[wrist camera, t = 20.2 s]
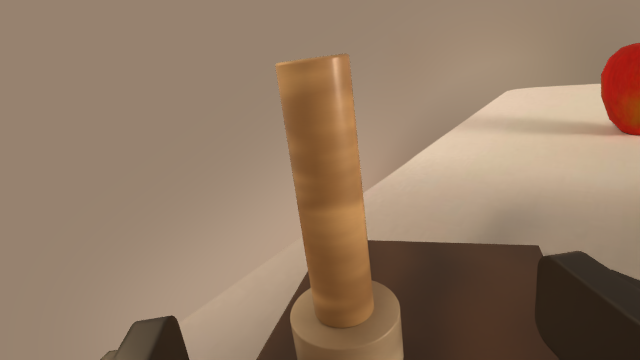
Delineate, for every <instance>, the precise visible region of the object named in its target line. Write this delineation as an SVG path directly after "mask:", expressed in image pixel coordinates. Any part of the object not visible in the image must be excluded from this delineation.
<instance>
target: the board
mask: <svg viewBox="0 0 640 360" xmlns="http://www.w3.org/2000/svg"><path fill="white" fill-rule="evenodd" d="M368 250H369V260H370V270H371V280H372V281H375V282H378V283H380V284H382V285H384V286H386V287H387V288H388V289H390V290H391V291H392V292H393V293H394V295H395V296H396V298H397V299H398V301H399V305H400V313H401V327H402V340H403V353H404V357H403V360H560V359H559V358H558V357H557V356H556V355H555V354H554V353H553V352H552V350H551V349H550V348H549V347H548V346H547V345H546V344H545V342H544V341H543V339H542V337H541V336H540V333H539V331H538V329H537V325H536V321H535V301H536V284H537V267H538V262H539V260H540V259H541V258H542V257H543V255H542V252H541V250H540V248H539V246H537V245H505V244H472V243H439V242H406V241H373V240H368ZM310 288H311V285H310V279H309V273H308V272H307V274H306V275H305V277H304V279H303V280H302V282H301V284H300V286H299V287H298V289H297V291H296V292H295V294H294V296H293V298H292V299H291V301H290V303H289V304H288V306H287V308H286V310H285V311H284V313H283V315H282V316H281V318H280V320H279V322H278V323H277V325H276V327H275V328H274V330H273V332H272V334H271V335H270V337H269V339H268V340H267V342H266V344H265V346H264V347H263V349H262V351H261V352H260V354H259V356H258V358H257V359H256V360H297V355H296V349H295V344H294V338H293V333H292V328H291V322H290V314H291V310H292V307H293V305H294V303H295V302H296V300H297V299H298V298H299V297H300V296H301V295H302V294H303V293H304V292H305V291H307V290H308V289H310Z"/></svg>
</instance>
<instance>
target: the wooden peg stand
mask: <svg viewBox="0 0 640 360" xmlns="http://www.w3.org/2000/svg"><path fill="white" fill-rule="evenodd" d="M275 67H276V73H277V79H278V85H279V92H280V97H281V104H282V110H283V117H284V123H285V129H286V135H287V142H288V148H289V154H290V160H291V167H292V173H293V179H294V185H295V191H296V198H297V204H298V210H299V216H300V223H301V228H302V235H303V242H304V248H305V254H306V260H307V267H308V273H309V279H310V285H311V288H310V289H308V290H307V291H305V292H304V293H303V294H302V295H301V296H300V297H299V298H298V299H297V300H296V302H295V303H294V305H293V307H292V310H291V314H290V322H291V328H292V333H293V338H294V344H295V349H296V355H297V360H403V357H404V353H403V340H402V327H401V313H400V305H399V301H398V299H397V298H396V296H395V295H394V293H393V292H392V291H391V290H390V289H388V288H387V287H386V286H384V285H382V284H380V283H378V282H375V281H372V280H371V270H370V260H369V250H368V240H367V230H366V220H365V210H364V200H363V190H362V181H361V170H360V160H359V150H358V141H357V130H356V120H355V110H354V100H353V90H352V80H351V70H350V60H349V55H348V54H338V55H330V56H322V57H315V58H307V59H300V60H294V61H286V62H280V63H277V64H276V66H275Z"/></svg>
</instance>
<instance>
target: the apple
mask: <svg viewBox="0 0 640 360" xmlns="http://www.w3.org/2000/svg"><path fill="white" fill-rule="evenodd" d="M601 97H602V100H603V103H604V105H605V108H606V111H607V114H608V116H609V119H610V120H611V121H612V122H613V123H614V124H615V125H616V126H617V127H618V128H619V129H620V130H621V131H622V132H625V133H628V134H633V135H640V43H636V44H632V45H628V46H625V47H622V48H621V49H620V50H618V51H617V52H616V53H615V54H614V55H612V56H611V57H610V58H609V60H608V62H607V64H606V66H605V68H604V70H603V72H602V74H601Z"/></svg>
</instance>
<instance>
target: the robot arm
mask: <svg viewBox="0 0 640 360" xmlns="http://www.w3.org/2000/svg"><path fill="white" fill-rule="evenodd" d="M535 321H536V325H537V329H538V331H539V333H540V336H541V337H542V339H543V341H544V342H545V344H546V345H547V346H548V347H549V348H550V349H551V350H552V352H553V353H554V354H555V355H556V356H557V357H558V358H559V359H560V360H640V281H639V280H637V279H634V278H632V277H629V276H627V275H624V274H621V273H619V272H616V271H614V270H610V269H608V268H607V267H605V266H604V265H602V264H601V263H599V262H598V261H596V260H595V259H593V258H592V257H590V256H589V255H587V254H586V253H584V252H581V251H573V252H567V253H561V254H555V255H549V256H543V257H542V258H541V259H540V260H539V262H538V267H537V284H536V301H535ZM100 360H189V357H188V353H187V350H186V347H185V343H184V340H183V337H182V333H181V330H180V327H179V324H178V321H177V319H176V318H175V317H174V316H166V317H160V318H154V319H148V320H142V321H137V322H135V323H134V324H133V325H132V326H131V328H130V329H129V331H128V333H127V335H126V336H125V338H124V340H123V342H122V343H121V345H120V347H119V349H118V350H114V351H109V352H108V353H107V354H106V355H105V356H104V357H102V359H100Z"/></svg>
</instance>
